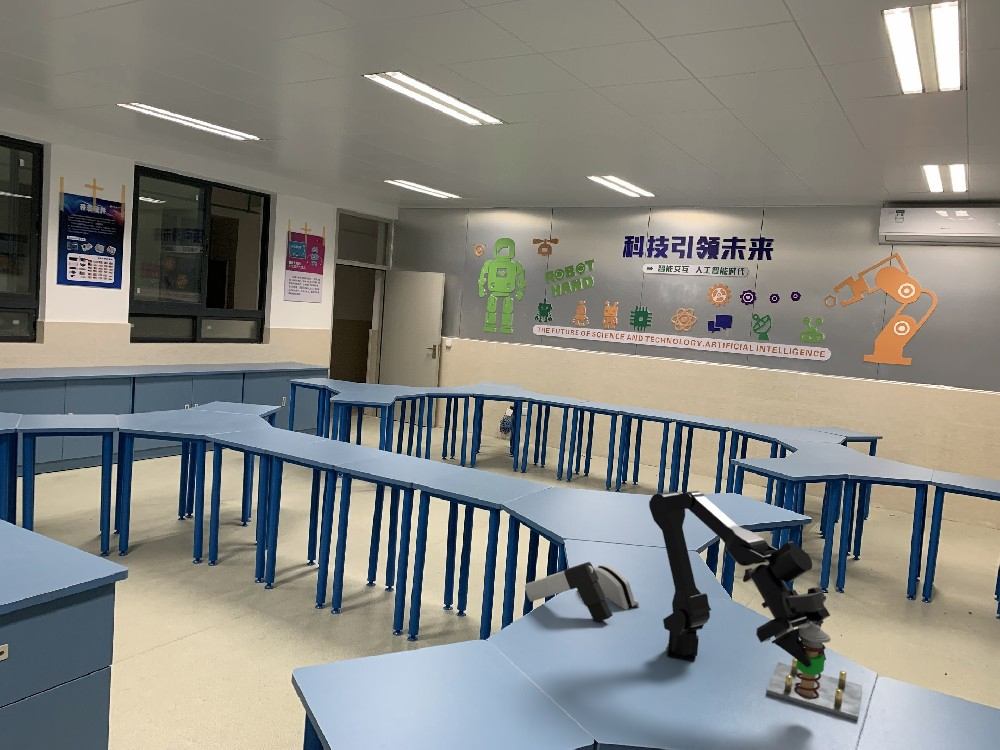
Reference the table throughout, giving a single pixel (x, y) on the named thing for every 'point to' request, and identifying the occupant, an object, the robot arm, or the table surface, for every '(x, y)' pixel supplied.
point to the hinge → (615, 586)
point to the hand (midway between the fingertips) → (816, 663)
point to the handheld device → (570, 579)
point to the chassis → (832, 691)
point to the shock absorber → (812, 648)
